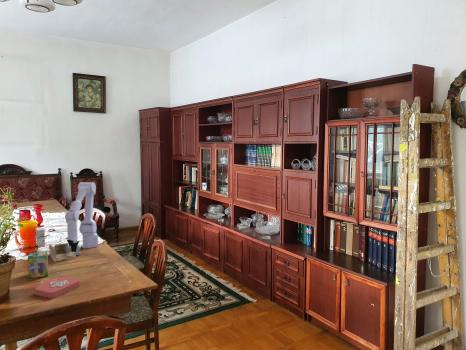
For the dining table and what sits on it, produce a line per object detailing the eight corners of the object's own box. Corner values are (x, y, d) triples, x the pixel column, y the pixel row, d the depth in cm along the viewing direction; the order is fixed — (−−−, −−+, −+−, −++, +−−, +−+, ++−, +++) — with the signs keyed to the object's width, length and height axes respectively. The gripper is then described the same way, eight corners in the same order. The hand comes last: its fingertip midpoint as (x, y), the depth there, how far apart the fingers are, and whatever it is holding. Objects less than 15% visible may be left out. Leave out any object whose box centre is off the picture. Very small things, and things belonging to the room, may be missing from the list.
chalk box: (48, 276, 197) (47, 249, 195) (28, 279, 193) (27, 251, 191) (48, 271, 205) (47, 244, 204) (29, 273, 201) (28, 246, 200)
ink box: (31, 247, 248) (30, 230, 247) (30, 246, 252) (29, 229, 251) (45, 246, 252) (44, 229, 251) (44, 244, 256) (43, 227, 255)
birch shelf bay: (69, 251, 241) (69, 241, 240) (75, 258, 228) (75, 247, 227) (49, 254, 234) (49, 244, 233) (54, 261, 221) (53, 250, 220)
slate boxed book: (78, 253, 236) (77, 244, 235) (79, 254, 233) (79, 246, 232) (66, 254, 232) (66, 246, 231) (67, 256, 229) (67, 247, 228)
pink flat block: (59, 274, 191) (81, 278, 185) (60, 281, 192) (82, 286, 186) (28, 286, 175) (51, 291, 169) (29, 294, 175) (52, 300, 169)
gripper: (63, 228, 234) (63, 249, 236) (68, 233, 223) (68, 255, 224) (74, 227, 239) (75, 247, 240) (80, 232, 227) (81, 253, 228)
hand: (73, 251), depth 232 cm, fingers closed on slate boxed book, 4 cm apart
